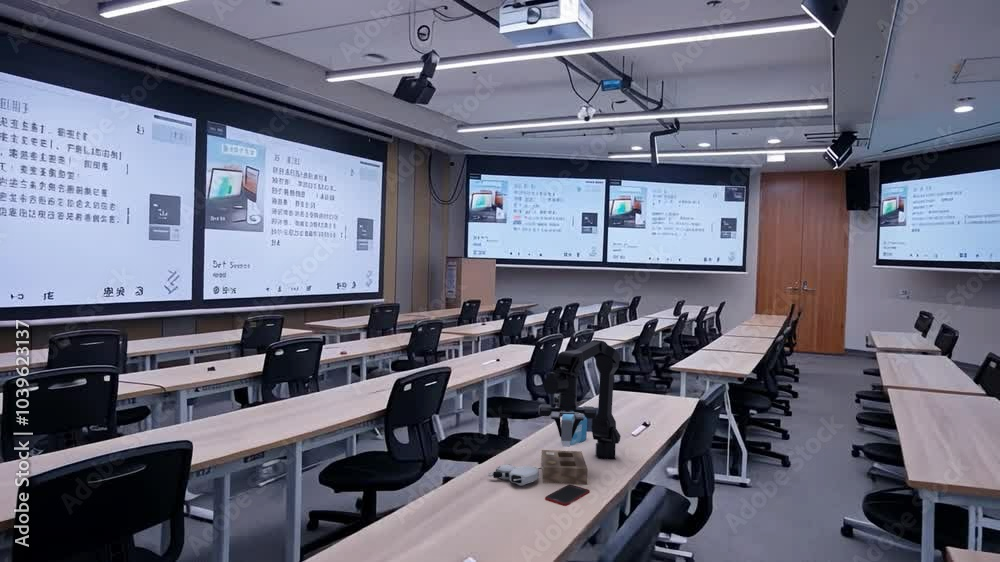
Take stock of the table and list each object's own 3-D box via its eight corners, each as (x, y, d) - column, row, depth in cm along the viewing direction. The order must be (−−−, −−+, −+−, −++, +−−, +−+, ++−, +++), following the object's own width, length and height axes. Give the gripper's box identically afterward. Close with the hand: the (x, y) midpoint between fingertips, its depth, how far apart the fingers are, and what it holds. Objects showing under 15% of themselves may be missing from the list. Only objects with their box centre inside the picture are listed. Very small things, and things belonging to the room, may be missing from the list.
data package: (571, 446, 231) (571, 415, 230) (561, 444, 234) (562, 413, 233) (586, 440, 240) (587, 410, 240) (576, 437, 243) (577, 408, 243)
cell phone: (590, 493, 185) (590, 490, 185) (565, 507, 173) (565, 504, 173) (569, 486, 189) (569, 483, 189) (543, 500, 178) (543, 497, 178)
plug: (570, 444, 200) (571, 420, 199) (571, 447, 196) (572, 423, 196) (560, 443, 200) (561, 420, 200) (561, 446, 196) (561, 422, 196)
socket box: (581, 465, 209) (581, 450, 209) (587, 484, 191) (587, 467, 191) (541, 464, 209) (541, 449, 209) (543, 482, 191) (543, 466, 191)
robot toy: (486, 484, 192) (526, 491, 183) (485, 470, 192) (525, 476, 184) (506, 473, 202) (545, 479, 194) (505, 460, 202) (544, 465, 194)
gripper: (593, 386, 205) (592, 432, 205) (539, 384, 206) (537, 429, 206) (597, 393, 194) (595, 441, 194) (540, 390, 195) (538, 438, 195)
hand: (566, 437), depth 198 cm, fingers closed on plug, 3 cm apart
